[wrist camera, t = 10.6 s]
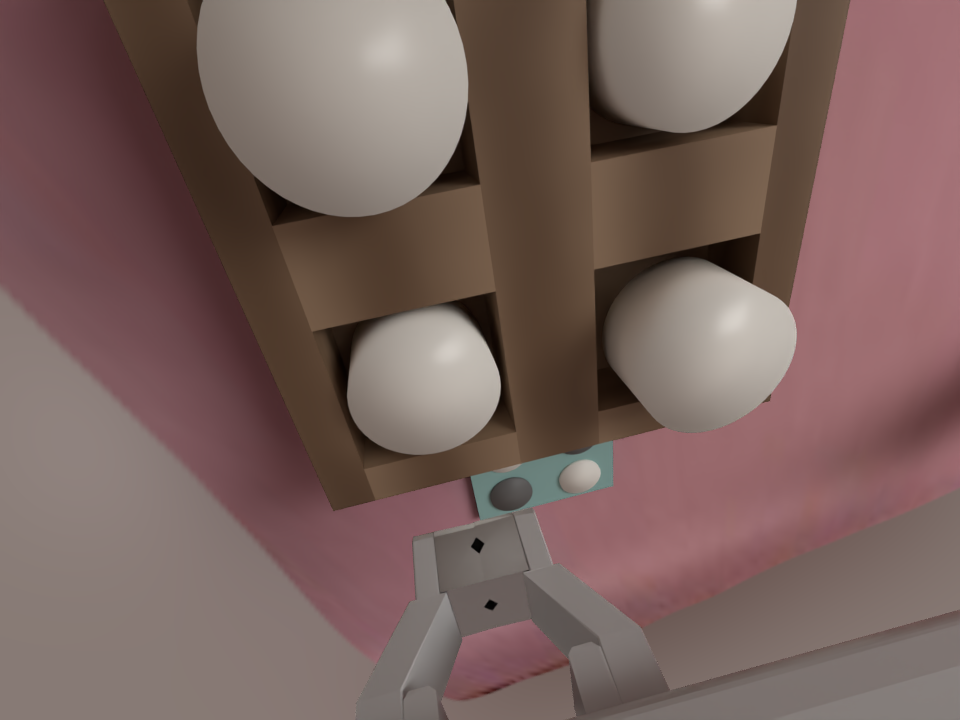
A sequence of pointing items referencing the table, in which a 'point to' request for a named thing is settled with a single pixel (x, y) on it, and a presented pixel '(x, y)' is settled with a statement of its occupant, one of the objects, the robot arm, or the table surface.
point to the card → (543, 480)
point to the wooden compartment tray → (498, 229)
